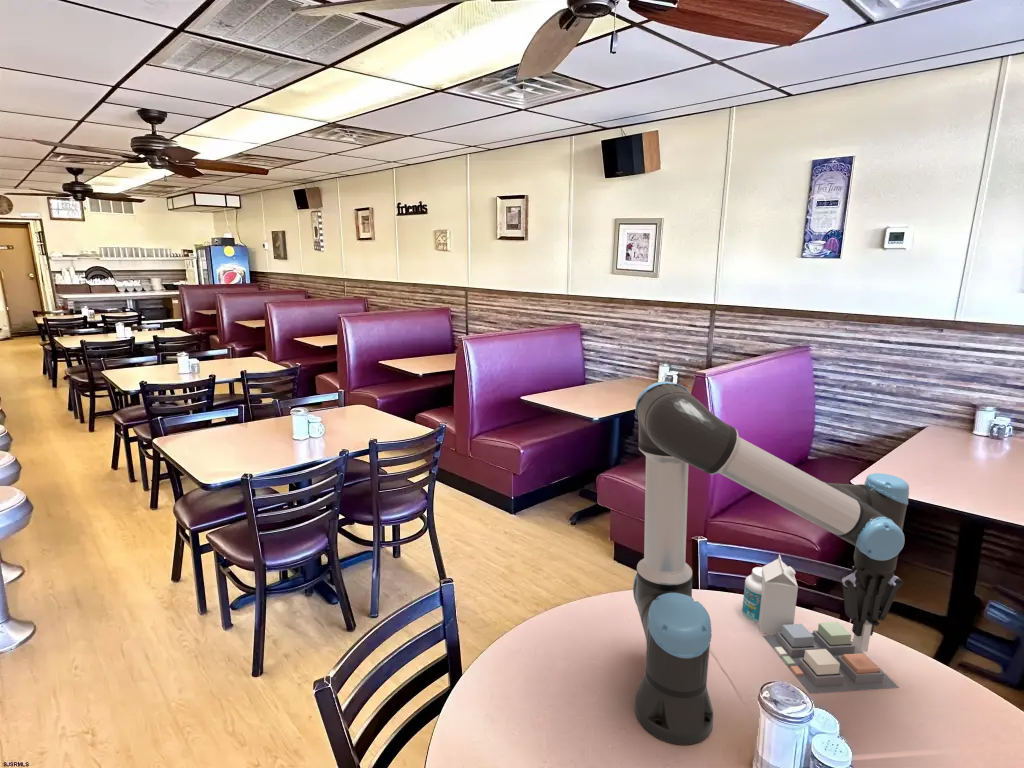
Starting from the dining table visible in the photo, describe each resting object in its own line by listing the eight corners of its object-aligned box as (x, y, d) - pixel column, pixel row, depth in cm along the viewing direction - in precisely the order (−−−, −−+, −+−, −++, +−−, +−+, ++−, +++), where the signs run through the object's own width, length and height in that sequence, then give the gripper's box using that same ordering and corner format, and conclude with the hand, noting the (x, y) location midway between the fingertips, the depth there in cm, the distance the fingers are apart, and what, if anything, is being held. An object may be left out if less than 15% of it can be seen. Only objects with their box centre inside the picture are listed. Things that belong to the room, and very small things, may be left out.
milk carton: (759, 637, 138) (767, 566, 134) (756, 620, 144) (763, 552, 140) (791, 643, 136) (800, 571, 132) (787, 625, 142) (795, 556, 138)
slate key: (793, 647, 129) (794, 637, 128) (781, 633, 134) (782, 624, 133) (813, 646, 129) (814, 636, 129) (800, 632, 134) (801, 623, 133)
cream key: (817, 675, 120) (818, 665, 120) (803, 659, 125) (805, 650, 124) (838, 673, 120) (839, 663, 120) (824, 658, 125) (825, 648, 125)
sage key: (830, 645, 130) (831, 635, 129) (817, 631, 134) (818, 622, 134) (850, 643, 130) (851, 634, 130) (836, 630, 135) (837, 621, 134)
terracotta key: (856, 679, 121) (857, 669, 121) (841, 663, 126) (842, 654, 125) (877, 677, 122) (878, 668, 121) (861, 662, 126) (863, 653, 126)
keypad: (809, 697, 118) (810, 685, 117) (762, 639, 136) (763, 628, 136) (899, 691, 120) (900, 679, 119) (840, 634, 138) (841, 623, 138)
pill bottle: (736, 611, 148) (740, 564, 145) (763, 609, 148) (768, 563, 146) (750, 629, 141) (755, 580, 138) (779, 627, 141) (784, 579, 138)
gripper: (859, 557, 114) (842, 660, 118) (920, 556, 115) (900, 658, 120) (835, 539, 121) (820, 637, 126) (892, 538, 122) (875, 635, 127)
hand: (859, 647), depth 123 cm, fingers closed
